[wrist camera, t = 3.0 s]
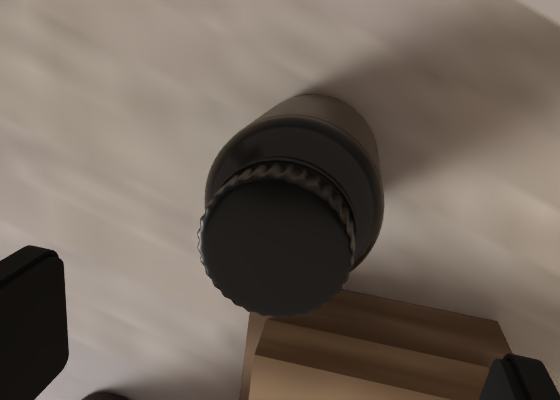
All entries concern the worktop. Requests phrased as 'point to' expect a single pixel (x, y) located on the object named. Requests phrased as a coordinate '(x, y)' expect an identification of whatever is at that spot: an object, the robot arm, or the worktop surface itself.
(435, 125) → the worktop surface
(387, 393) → the stepped wooden plinth
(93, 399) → the vinegar
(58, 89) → the worktop surface
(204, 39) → the worktop surface
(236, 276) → the supplement bottle
